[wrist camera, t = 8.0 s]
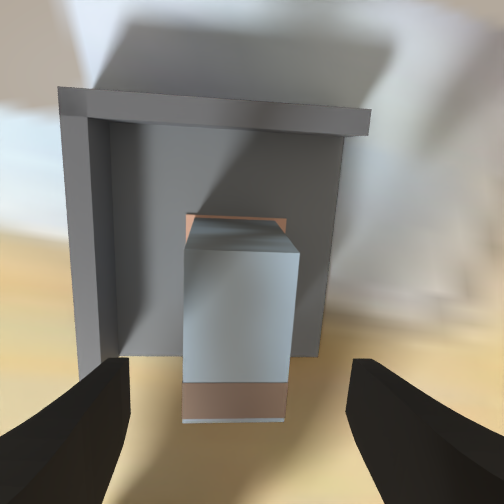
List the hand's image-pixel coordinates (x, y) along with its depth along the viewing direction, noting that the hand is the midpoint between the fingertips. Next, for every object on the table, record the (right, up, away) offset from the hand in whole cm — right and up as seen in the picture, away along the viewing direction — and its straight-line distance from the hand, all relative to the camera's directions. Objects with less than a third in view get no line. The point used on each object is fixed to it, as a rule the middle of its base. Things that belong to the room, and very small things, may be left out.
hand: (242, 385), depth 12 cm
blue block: (-1, +3, +8) cm, 8 cm away
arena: (-2, +5, +7) cm, 9 cm away
